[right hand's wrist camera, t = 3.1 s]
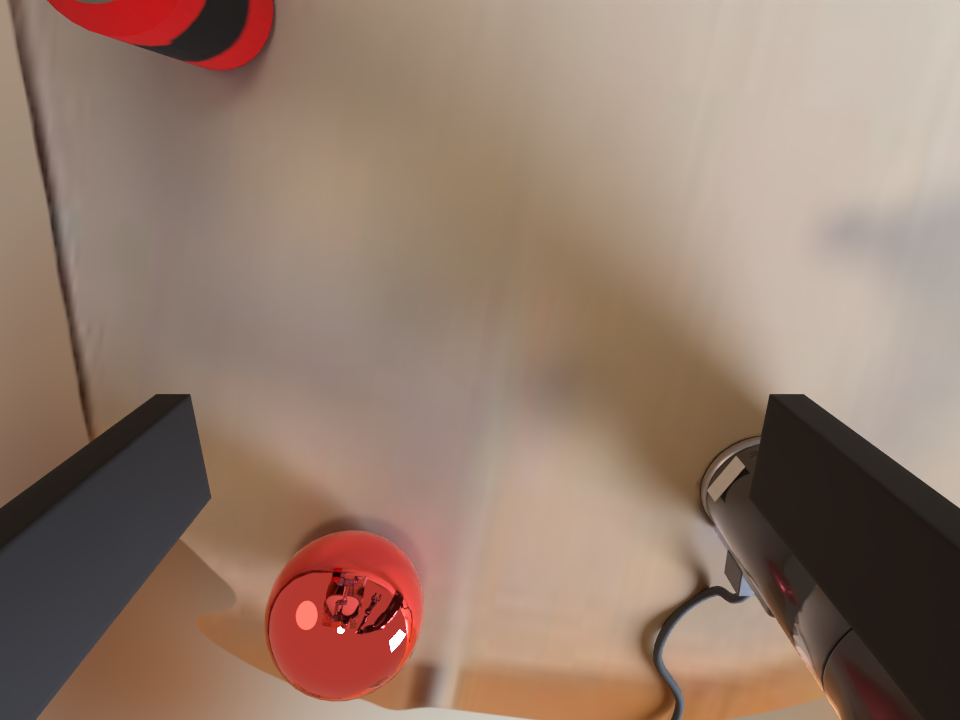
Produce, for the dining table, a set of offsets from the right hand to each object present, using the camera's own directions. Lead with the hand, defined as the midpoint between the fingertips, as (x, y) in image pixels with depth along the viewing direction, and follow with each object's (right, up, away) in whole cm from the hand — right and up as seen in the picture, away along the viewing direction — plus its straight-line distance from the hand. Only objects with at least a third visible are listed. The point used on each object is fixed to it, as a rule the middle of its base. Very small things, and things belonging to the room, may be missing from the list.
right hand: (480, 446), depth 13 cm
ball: (-10, -15, +36) cm, 40 cm away
